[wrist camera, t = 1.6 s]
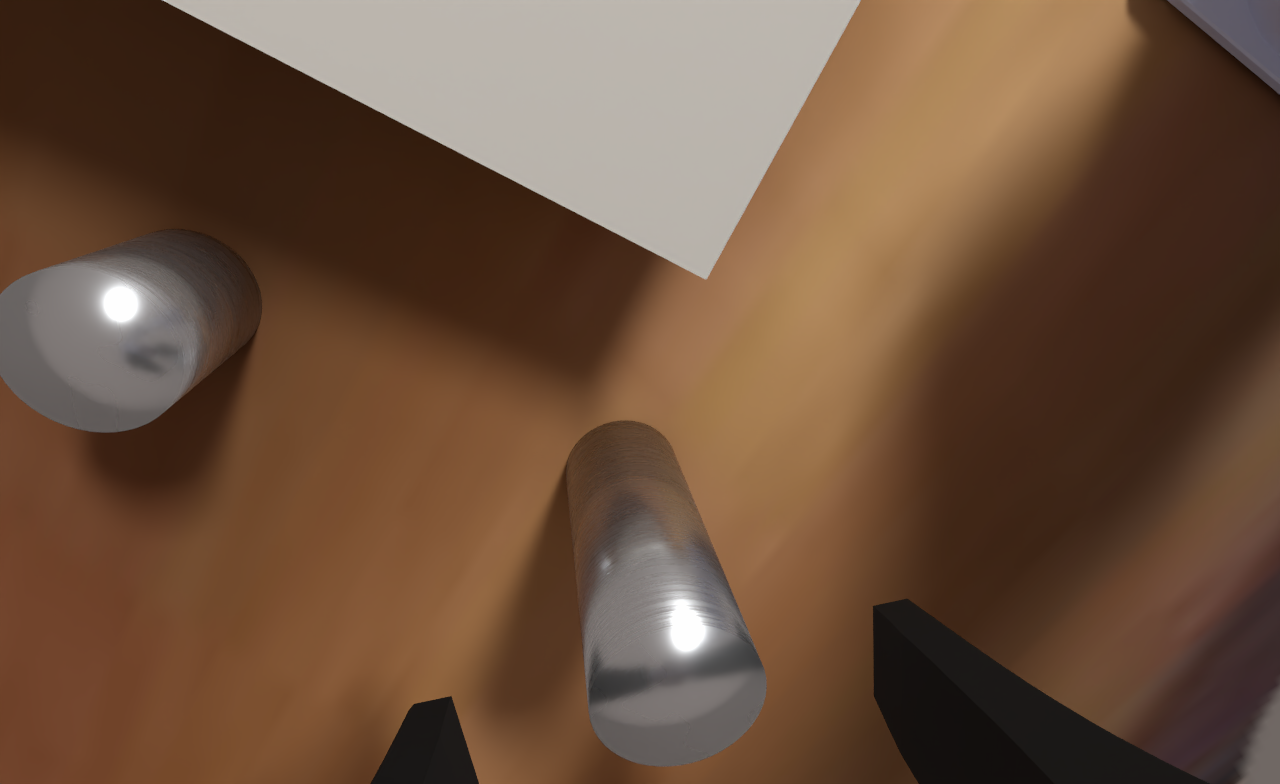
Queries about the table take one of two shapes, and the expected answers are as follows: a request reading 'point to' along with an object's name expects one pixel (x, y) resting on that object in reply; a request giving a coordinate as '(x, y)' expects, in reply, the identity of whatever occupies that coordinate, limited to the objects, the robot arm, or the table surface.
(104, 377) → the short steel pin
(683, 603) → the tall steel pin
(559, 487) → the table surface
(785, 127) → the hole block
